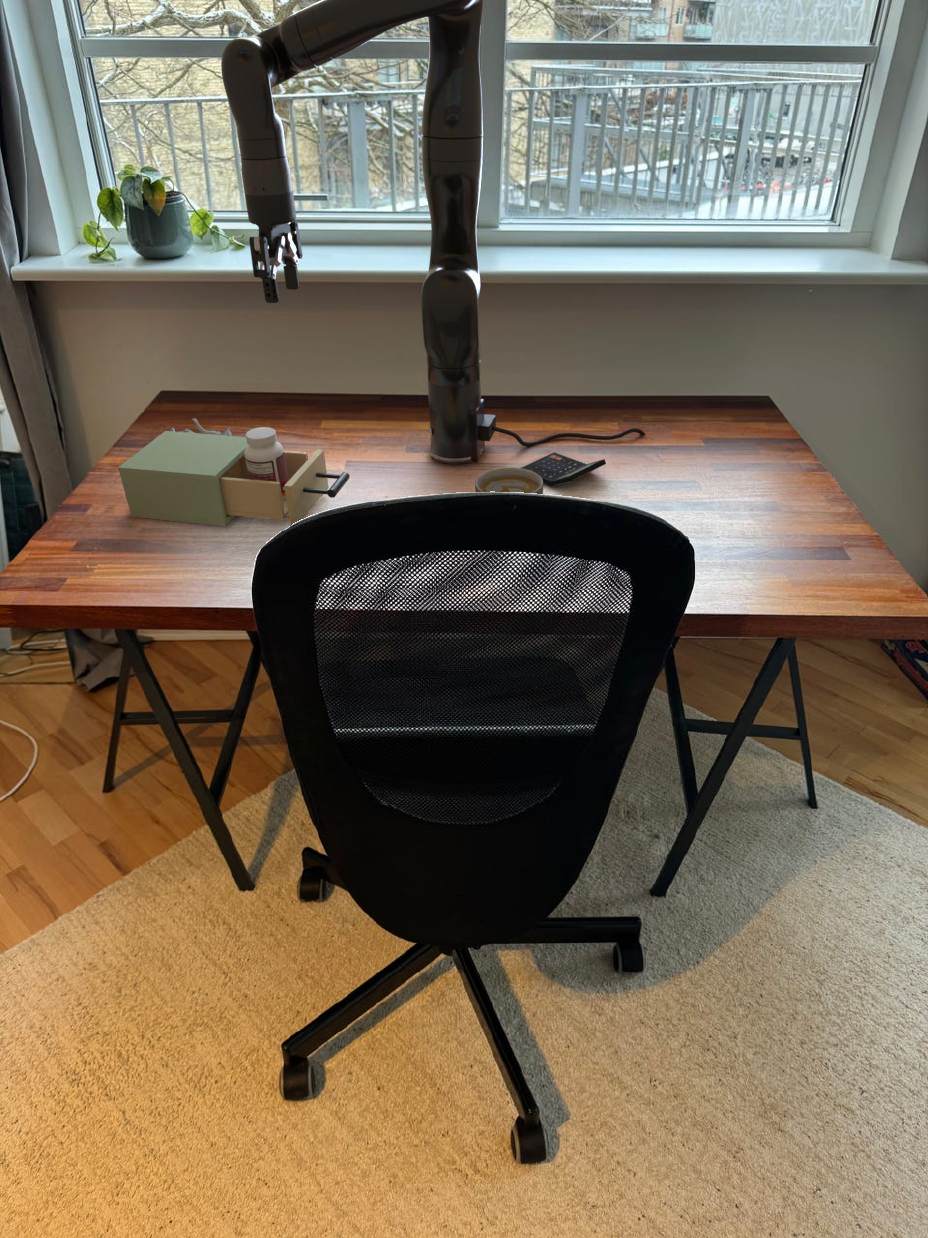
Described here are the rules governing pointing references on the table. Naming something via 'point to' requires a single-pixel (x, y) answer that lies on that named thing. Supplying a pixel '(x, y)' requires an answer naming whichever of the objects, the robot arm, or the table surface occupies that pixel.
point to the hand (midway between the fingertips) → (283, 295)
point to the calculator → (561, 468)
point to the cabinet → (181, 477)
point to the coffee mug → (509, 481)
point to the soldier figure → (227, 432)
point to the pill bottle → (265, 457)
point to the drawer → (267, 496)
